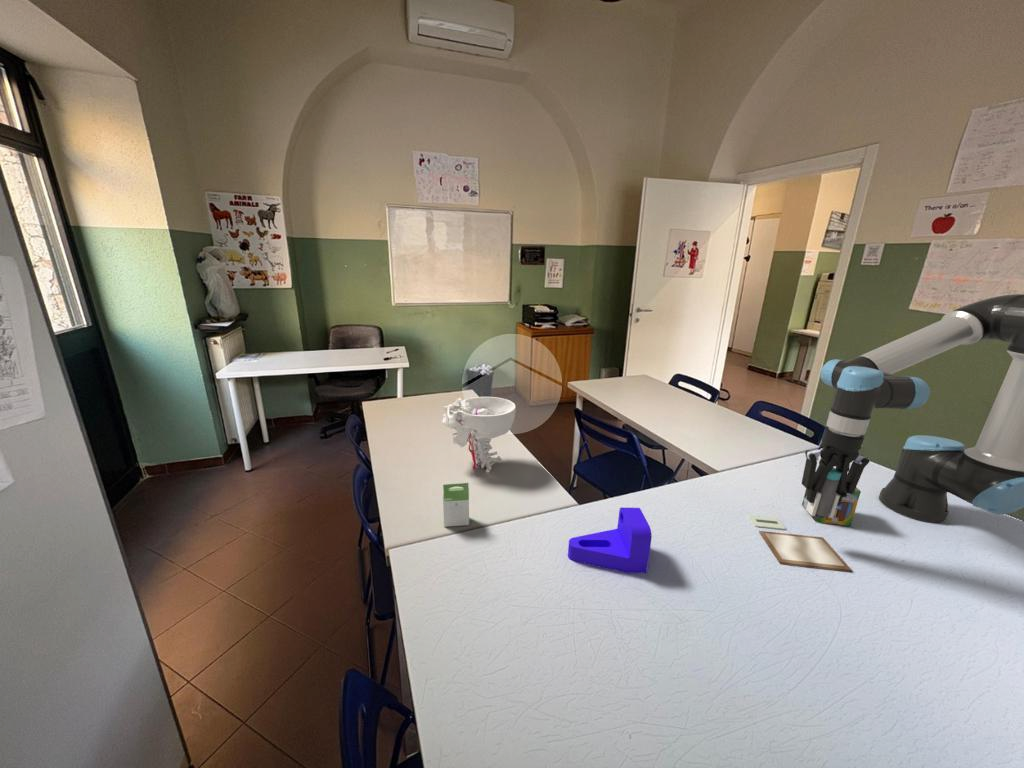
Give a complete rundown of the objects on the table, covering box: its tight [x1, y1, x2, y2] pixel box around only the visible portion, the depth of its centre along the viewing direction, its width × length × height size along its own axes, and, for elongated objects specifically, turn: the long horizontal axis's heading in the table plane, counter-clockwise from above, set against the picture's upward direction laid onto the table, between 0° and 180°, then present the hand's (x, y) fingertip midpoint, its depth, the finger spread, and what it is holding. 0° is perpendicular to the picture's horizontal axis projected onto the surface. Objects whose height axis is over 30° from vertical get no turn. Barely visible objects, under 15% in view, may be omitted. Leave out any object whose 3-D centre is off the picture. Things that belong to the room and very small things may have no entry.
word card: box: [747, 514, 787, 531], centre depth 115 cm, size 8×5×1 cm, turn 81°
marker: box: [815, 467, 842, 519], centre depth 102 cm, size 4×4×13 cm
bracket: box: [567, 506, 652, 574], centre depth 99 cm, size 18×11×12 cm, turn 91°
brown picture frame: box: [758, 530, 853, 573], centre depth 104 cm, size 16×12×1 cm
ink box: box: [442, 482, 470, 528], centre depth 111 cm, size 7×4×13 cm, turn 97°
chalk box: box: [801, 486, 861, 527], centre depth 117 cm, size 9×9×15 cm
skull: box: [441, 396, 517, 473], centre depth 139 cm, size 25×19×23 cm
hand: (819, 513), depth 104 cm, fingers closed on marker, 3 cm apart
